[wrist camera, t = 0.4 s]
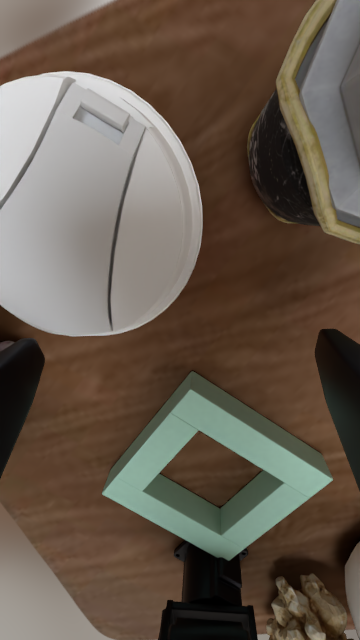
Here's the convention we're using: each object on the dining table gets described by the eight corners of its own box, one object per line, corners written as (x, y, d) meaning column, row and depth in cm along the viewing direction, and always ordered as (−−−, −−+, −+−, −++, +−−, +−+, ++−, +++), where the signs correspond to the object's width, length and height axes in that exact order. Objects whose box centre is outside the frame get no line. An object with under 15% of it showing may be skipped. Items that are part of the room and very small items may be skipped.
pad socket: (225, 534, 35) (226, 563, 32) (110, 469, 33) (101, 494, 30) (321, 453, 29) (333, 480, 26) (192, 370, 27) (190, 388, 24)
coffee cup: (125, 127, 21) (-44, -31, 7) (227, 188, 22) (261, 160, 8) (82, 236, 24) (-98, 281, 10) (172, 286, 25) (125, 394, 11)
